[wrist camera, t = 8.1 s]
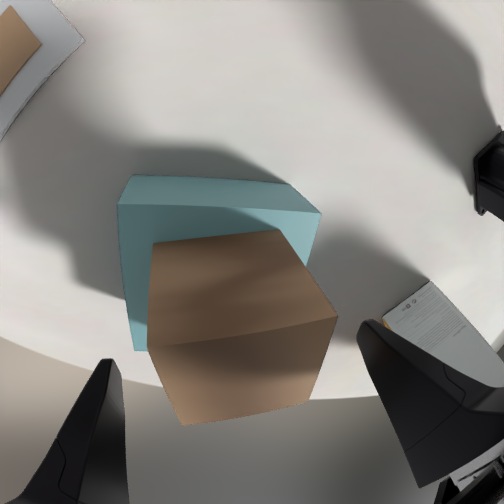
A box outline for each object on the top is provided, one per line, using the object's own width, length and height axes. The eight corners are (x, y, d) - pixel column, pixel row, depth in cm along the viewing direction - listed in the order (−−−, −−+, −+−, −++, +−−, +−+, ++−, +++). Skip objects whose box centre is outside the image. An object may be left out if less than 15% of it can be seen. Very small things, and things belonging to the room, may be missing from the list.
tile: (28, -25, 4) (22, -29, 3) (85, 40, 8) (80, 38, 7) (-52, 75, 5) (-59, 76, 4) (-4, 147, 9) (-11, 150, 8)
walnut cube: (279, 229, 11) (338, 315, 7) (272, 317, 14) (307, 401, 10) (153, 243, 10) (146, 347, 6) (172, 332, 13) (181, 425, 9)
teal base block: (287, 182, 15) (321, 213, 11) (261, 299, 19) (279, 344, 15) (132, 173, 12) (117, 204, 9) (138, 301, 16) (134, 351, 13)
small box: (379, 316, 23) (458, 429, 13) (430, 278, 23) (516, 374, 12) (387, 351, 28) (444, 440, 17) (429, 320, 27) (491, 400, 17)
